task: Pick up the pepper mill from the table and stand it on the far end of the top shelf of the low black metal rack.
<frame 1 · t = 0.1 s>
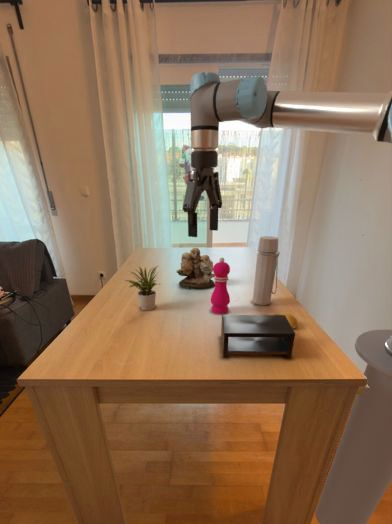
hand: (203, 233, 89), 29 cm above the table, tool pointing down, fingers open, 13 cm apart
water bottle: (263, 303, 115), on the table
rack: (253, 347, 85), on the table
house plant: (148, 306, 112), on the table
owl figurine: (195, 285, 134), on the table
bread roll: (282, 325, 97), on the table
pepper mill: (219, 311, 108), on the table
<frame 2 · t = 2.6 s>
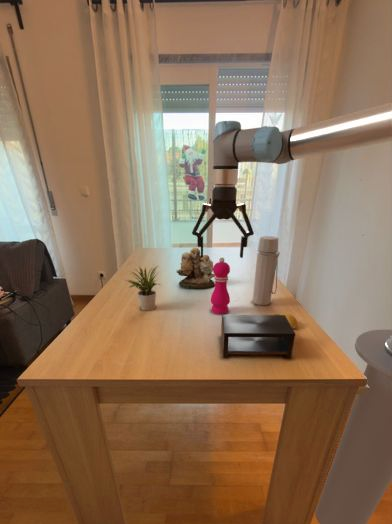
hand: (221, 256, 98), 20 cm above the table, tool pointing down, fingers open, 13 cm apart
nothing on the table moved.
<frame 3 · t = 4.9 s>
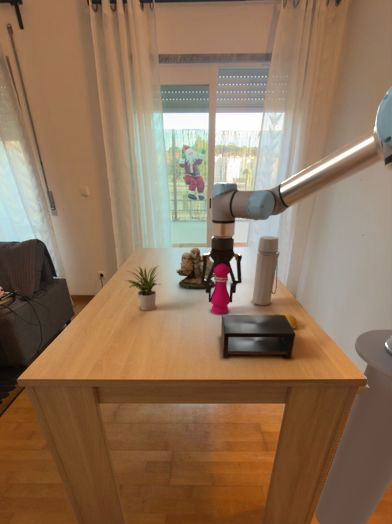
hand: (220, 300, 106), 4 cm above the table, tool pointing down, fingers closed on pepper mill, 7 cm apart
pepper mill: (219, 311, 108), on the table, touching gripper
everything else where it was.
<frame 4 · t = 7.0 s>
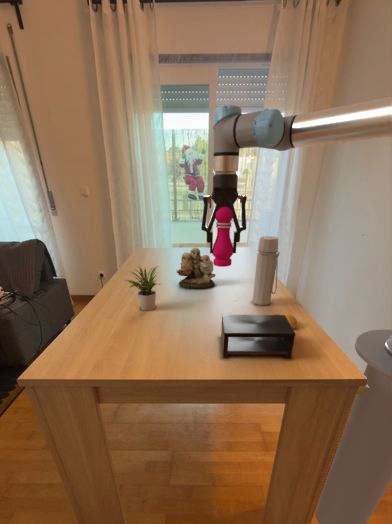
hand: (222, 252, 97), 22 cm above the table, tool pointing down, fingers closed on pepper mill, 7 cm apart
pepper mill: (222, 265, 99), point 17 cm above the table, touching gripper
everything else where it was.
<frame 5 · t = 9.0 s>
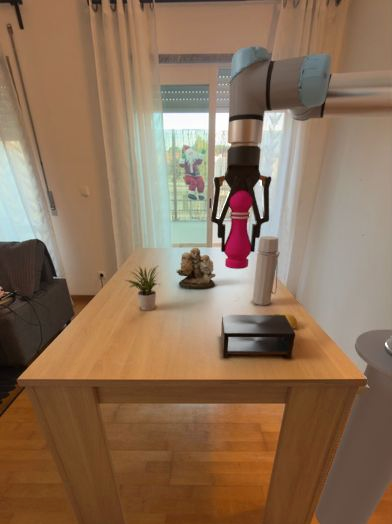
hand: (237, 250, 76), 27 cm above the table, tool pointing down, fingers closed on pepper mill, 7 cm apart
pepper mill: (236, 266, 78), point 23 cm above the table, touching gripper
everything else where it was.
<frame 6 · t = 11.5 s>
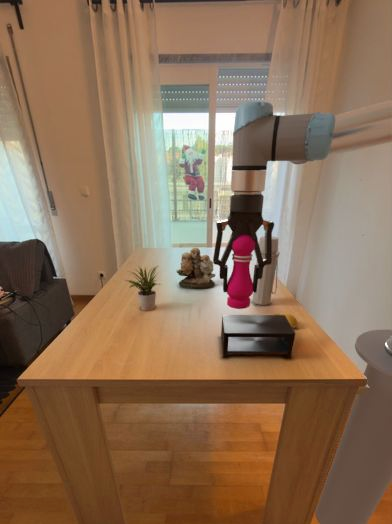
hand: (239, 290, 76), 18 cm above the table, tool pointing down, fingers closed on pepper mill, 7 cm apart
pepper mill: (238, 305, 78), point 14 cm above the table, touching gripper
everything else where it was.
when the fingers open (12 cm above the table, at t = 13.3 s): pepper mill stays where it is, resting on rack.
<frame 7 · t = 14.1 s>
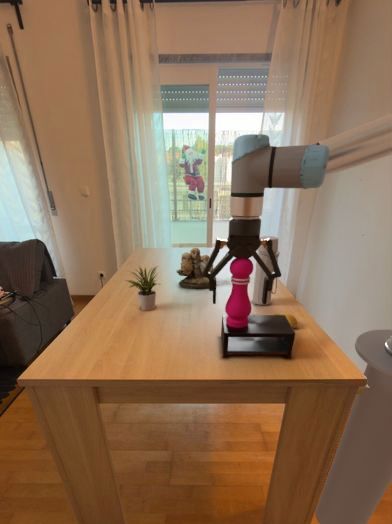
hand: (238, 302, 77), 14 cm above the table, tool pointing down, fingers open, 13 cm apart
pepper mill: (237, 323, 81), point 8 cm above the table, touching rack
everything else where it was.
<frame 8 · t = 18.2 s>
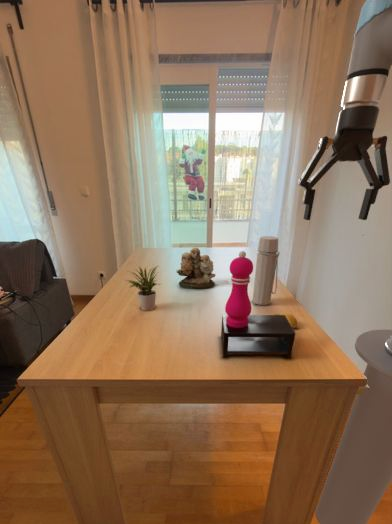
hand: (334, 219, 70), 35 cm above the table, tool pointing down, fingers open, 13 cm apart
nothing on the table moved.
at the end: pepper mill 1.5 cm from the target spot on the rack, point 7.8 cm above the rack's base; pepper mill tilted 0°; the gripper is holding nothing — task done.
